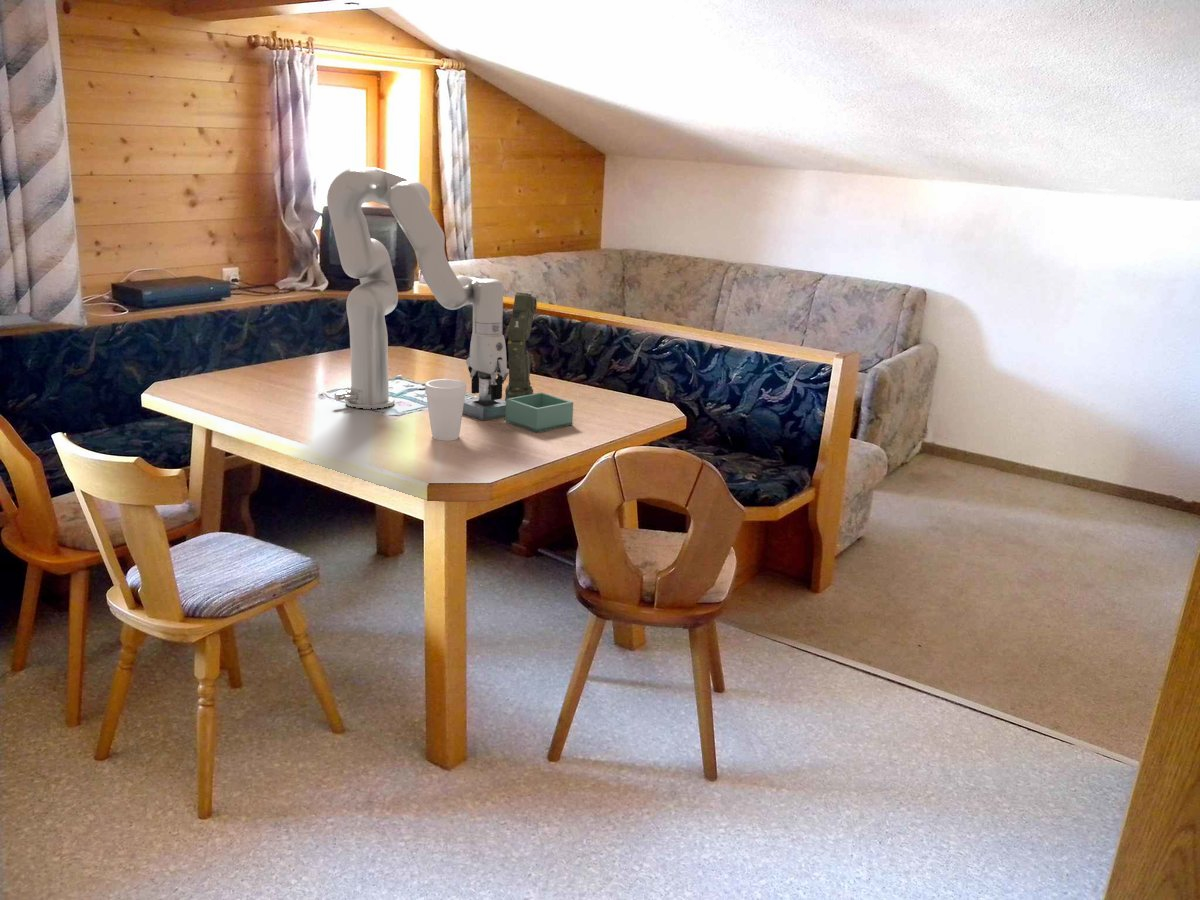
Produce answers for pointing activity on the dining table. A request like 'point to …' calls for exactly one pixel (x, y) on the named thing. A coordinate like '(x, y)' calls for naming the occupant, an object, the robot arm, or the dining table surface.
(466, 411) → the socket block
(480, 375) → the metal peg
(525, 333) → the mechanical leg
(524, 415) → the bin
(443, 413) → the foam cup
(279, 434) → the dining table surface
